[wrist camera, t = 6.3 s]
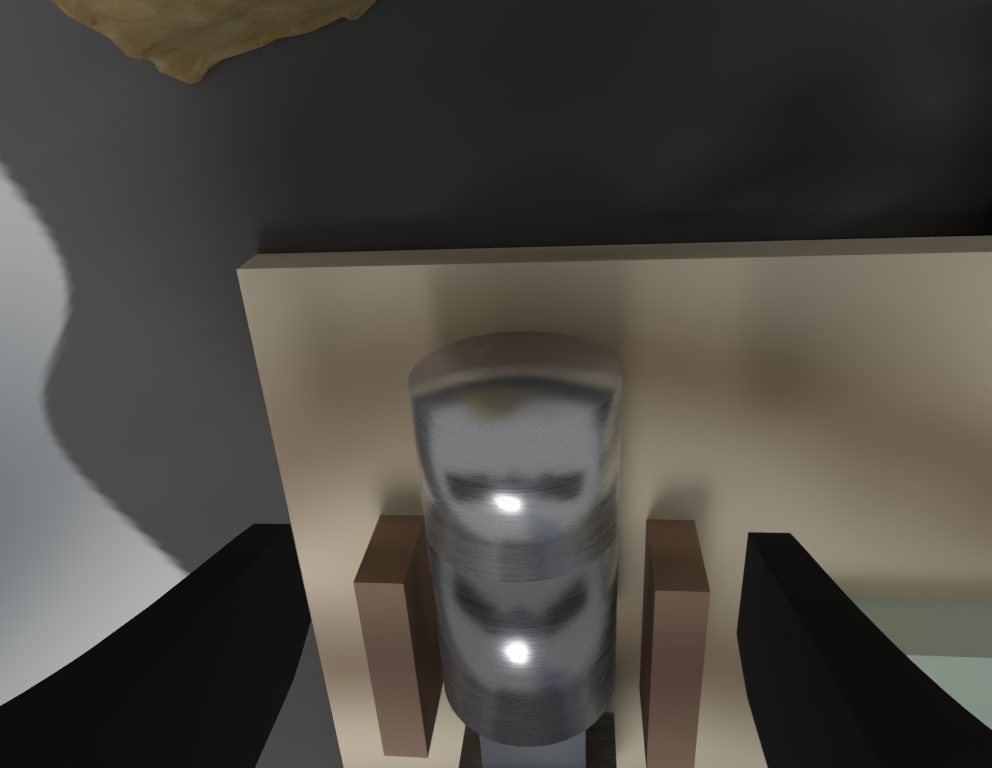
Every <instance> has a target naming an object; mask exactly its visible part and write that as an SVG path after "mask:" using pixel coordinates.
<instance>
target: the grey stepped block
mask: <svg viewBox="0 0 992 768" xmlns="http://www.w3.org/2000/svg"><path fill="white" fill-rule="evenodd" d="M459 768H617V763H616V742H615V721H614V713H608V712H604V713H603V714H602V715H601V717H600V718H599V719H598V720H597V721H596V722H595V723H594V724H593V725H591V726H590V727H589V728H588V729H586V730H585V731H583V732H582V733H580V734H578V735H577V736H574V737H572V738H570V739H568V740H565V741H562V742H559V743H556V744H551V745H546V746H538V747H518V746H512V745H506V744H502V743H498V742H495V741H492V740H490V739H488V738H485V737H483V736H481V735H479V734H478V733H476V732H474V731H473V730H472V729H470V728H469V727H468V726H466V725H465V731H464V737H463V743H462V750H461V756H460V762H459Z"/></svg>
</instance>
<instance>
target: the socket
mask: <svg viewBox="0 0 992 768" xmlns="http://www.w3.org/2000/svg"><path fill="white" fill-rule="evenodd" d="M353 584H354V589H355V595H356V601H357V606H358V612H359V617H360V623H361V629H362V634H363V640H364V645H365V651H366V657H367V662H368V668H369V673H370V679H371V685H372V690H373V696H374V702H375V707H376V713H377V718H378V724H379V730H380V735H381V741H382V746H383V752H384V756H399V757H418V758H428V755H429V750H430V745H431V740H432V735H433V731H434V726H435V721H436V716H437V711H438V706H439V701H440V696H441V692H442V687H443V682H444V681H443V672H442V664H441V655H440V647H439V639H438V630H437V622H436V613H435V605H434V597H433V588H432V580H431V571H430V563H429V555H428V546H427V538H426V529H425V521H424V516H414V515H380V517H379V519H378V522H377V524H376V527H375V529H374V532H373V534H372V537H371V539H370V542H369V544H368V547H367V549H366V552H365V554H364V557H363V559H362V562H361V564H360V567H359V569H358V572H357V574H356V577H355V579H354V582H353ZM709 601H710V588H709V584H708V579H707V575H706V570H705V566H704V561H703V557H702V552H701V548H700V543H699V539H698V534H697V530H696V525H695V521H694V520H658V519H646V537H645V561H644V585H643V610H642V634H641V658H640V682H639V690H640V702H641V714H642V726H643V737H644V749H645V761H646V768H694V764H695V753H696V742H697V731H698V721H699V710H700V699H701V688H702V677H703V666H704V656H705V645H706V634H707V623H708V612H709Z"/></svg>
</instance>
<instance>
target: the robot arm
mask: <svg viewBox="0 0 992 768" xmlns="http://www.w3.org/2000/svg"><path fill="white" fill-rule="evenodd" d="M310 622H311V618H310V613H309V608H308V604H307V599H306V595H305V590H304V586H303V581H302V577H301V572H300V567H299V563H298V558H297V554H296V549H295V545H294V540H293V536H292V531H291V526H290V524H253V525H252V526H250V527H249V528H248V529H246V530H245V531H244V532H242V533H241V534H240V535H238V536H237V537H236V538H234V539H233V540H232V541H231V542H229V543H228V544H227V545H226V546H224V547H223V548H222V549H221V550H219V551H218V552H217V553H216V554H214V555H213V556H212V557H211V558H209V559H208V560H207V561H206V562H205V563H203V564H202V565H201V566H200V567H198V568H197V569H196V570H195V571H193V572H192V573H191V574H190V575H188V576H187V577H186V578H185V579H183V580H182V581H181V582H179V583H178V584H177V585H176V586H174V587H173V588H172V589H171V590H169V591H168V592H167V593H166V594H164V595H163V596H162V597H161V598H159V599H158V600H157V601H156V602H154V603H153V604H152V605H150V606H149V607H148V608H146V609H145V610H143V611H142V612H141V613H139V614H138V615H137V616H135V617H134V618H133V619H131V620H130V621H128V622H127V623H126V624H124V625H123V626H122V627H120V628H119V629H118V630H116V631H115V632H113V633H112V634H111V635H109V636H108V637H106V638H105V639H104V640H102V641H101V642H100V643H98V644H97V645H96V646H95V647H93V648H91V649H90V650H88V651H87V652H85V653H84V654H83V655H81V656H80V657H79V658H77V659H75V660H74V661H73V662H71V663H69V664H68V665H66V666H65V667H63V668H62V669H60V670H58V671H57V672H55V673H54V674H52V675H51V676H49V677H48V678H46V679H44V680H43V681H41V682H39V683H38V684H36V685H35V686H33V687H31V688H30V689H28V690H26V691H25V692H24V693H22V694H20V695H18V696H17V697H15V698H13V699H12V700H10V701H8V702H7V703H5V704H3V705H1V706H0V768H255V766H256V764H257V761H258V759H259V757H260V755H261V753H262V750H263V748H264V746H265V744H266V741H267V739H268V737H269V735H270V732H271V730H272V728H273V726H274V723H275V721H276V719H277V716H278V714H279V712H280V710H281V707H282V705H283V703H284V700H285V698H286V696H287V693H288V691H289V689H290V686H291V684H292V682H293V679H294V676H295V673H296V670H297V667H298V663H299V660H300V657H301V654H302V650H303V647H304V643H305V640H306V636H307V632H308V629H309V625H310ZM736 635H737V641H738V647H739V653H740V659H741V665H742V671H743V677H744V682H745V688H746V693H747V698H748V702H749V705H750V709H751V712H752V716H753V719H754V723H755V726H756V730H757V733H758V736H759V740H760V743H761V747H762V750H763V753H764V757H765V760H766V763H767V767H768V768H992V730H991V729H990V728H989V727H988V726H986V725H985V724H984V723H983V722H981V721H980V720H979V719H978V718H976V717H975V716H974V715H973V714H971V713H970V712H969V711H968V710H966V709H965V708H964V707H963V706H962V705H961V704H959V703H958V702H957V701H956V700H955V699H953V698H952V697H951V696H950V695H949V694H948V693H946V692H945V691H944V690H943V689H942V688H941V687H940V686H939V685H938V684H936V683H935V682H934V681H933V680H932V679H931V678H930V677H929V676H928V675H927V674H926V673H924V672H923V671H922V670H921V669H920V668H919V667H918V666H917V665H916V664H915V663H913V662H912V661H911V660H910V659H909V658H908V657H907V656H906V655H905V654H904V653H903V652H902V651H901V650H900V649H899V648H898V647H897V646H896V645H895V644H894V643H893V642H892V641H891V640H890V639H889V638H888V637H887V636H886V635H885V634H884V633H883V632H882V631H881V630H880V629H879V628H878V627H877V626H876V625H875V624H874V623H873V622H872V621H871V620H870V619H869V618H868V617H867V616H866V615H865V614H864V613H863V612H862V611H861V610H860V609H859V607H858V606H857V605H856V604H855V603H854V602H853V601H852V600H851V599H850V598H849V597H848V596H847V595H846V594H845V593H844V591H843V590H842V589H841V588H840V587H839V586H838V585H837V584H836V583H835V582H834V581H833V579H832V578H831V577H830V576H829V575H828V574H827V573H826V572H825V571H824V569H823V568H822V567H821V566H820V565H819V564H818V563H817V562H816V561H815V559H814V558H813V557H812V556H811V555H810V554H809V553H808V552H807V550H806V549H805V548H804V547H803V546H802V545H801V544H800V543H799V542H798V540H797V539H796V538H795V537H794V536H793V535H792V534H791V533H765V532H748V539H747V547H746V556H745V564H744V573H743V581H742V590H741V598H740V607H739V615H738V624H737V632H736Z"/></svg>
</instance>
